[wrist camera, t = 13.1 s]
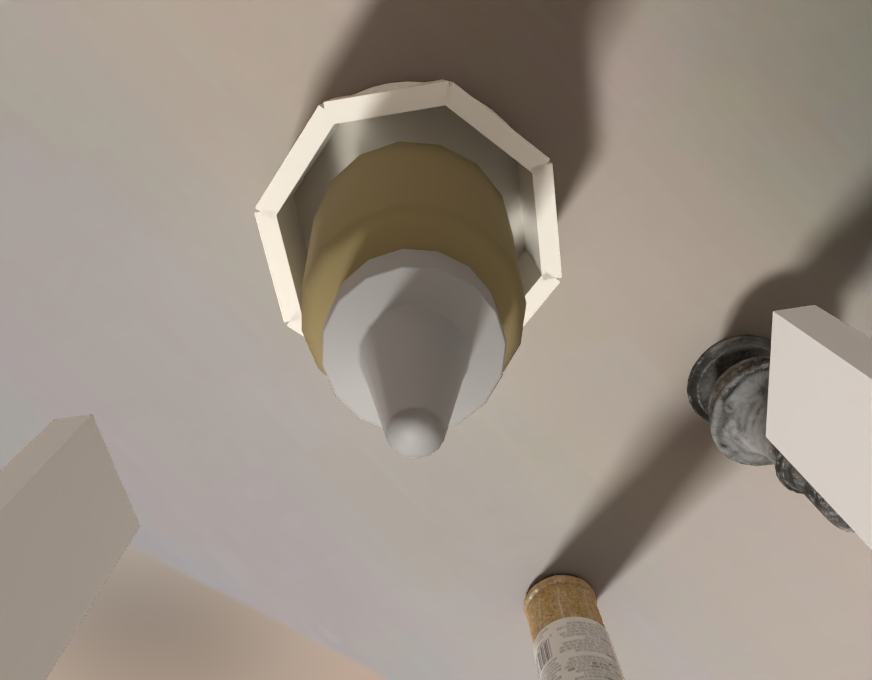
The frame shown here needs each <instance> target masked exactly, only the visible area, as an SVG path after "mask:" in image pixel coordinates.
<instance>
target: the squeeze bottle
mask: <svg viewBox="0 0 872 680" xmlns="http://www.w3.org/2000/svg"><path fill="white" fill-rule="evenodd" d="M525 310H526V299H525V294H524V289H523V284H522V279H521V274H520V269H519V264H518V259H517V254H516V249H515V243H514V238H513V233H512V230H511V226H510V222H509V219H508V215H507V212H506V208H505V204H504V201H503V197H502V195H501V194H500V192H499V191H498V190H497V189H496V187H495V186H494V185H493V184H492V182H491V181H490V180H489V179H488V177H487V176H486V175H485V174H484V172H483V171H482V170H481V169H480V167H479V166H478V165H477V164H476V163H474V162H472V161H470V160H468V159H466V158H464V157H463V156H461V155H459V154H457V153H455V152H453V151H451V150H449V149H448V148H446V147H444V146H442V145H436V144H424V143H412V142H400V141H399V142H396V143H393V144H390V145H387V146H384V147H381V148H378V149H375V150H372V151H369V152H367V153H364V154H361V155H359V156H358V157H357V158H356V159H355V160H354V161H353V162H351V163H350V164H349V165H348V166H347V167H346V168H345V169H344V170H343V171H342V172H340V173H339V174H338V175H337V176H336V177H335V178H334V179H333V180H332V181H331V182H330V183H329V185H328V188H327V190H326V192H325V194H324V197H323V199H322V201H321V203H320V206H319V208H318V210H317V212H316V215H315V217H314V220H313V226H312V232H311V237H310V243H309V249H308V255H307V260H306V266H305V272H304V277H303V283H302V333H303V335H304V337H305V339H306V342H307V344H308V346H309V349H310V351H311V353H312V355H313V358H314V360H315V362H316V364H317V367H318V368H319V369H320V370H321V371H322V372H323V373H324V374H325V375H326V376H327V378H328V380H329V382H330V385H331V387H332V389H333V392H334V394H335V396H336V397H337V398H338V399H340V400H341V401H342V402H343V403H344V404H345V405H346V406H347V407H348V408H349V409H350V410H351V411H352V412H353V413H354V414H355V415H356V416H357V417H358V418H360V419H362V420H364V421H367V422H369V423H371V424H374V425H376V426H379V427H381V428H383V430H384V433H385V436H386V439H387V441H388V444H389V446H390V447H391V448H392V449H393V450H394V451H395V452H396V453H397V454H400V455H402V456H405V457H407V458H422V457H425V456H428V455H431V454H432V453H433V452H435V451H436V450H437V449H439V447H440V446H441V444H442V442H443V441H444V438H445V435H446V432H447V429H448V427H449V426H452V425H456V424H459V423H460V422H461V421H463V420H464V419H465V418H467V417H468V416H469V415H471V414H472V413H473V412H475V411H476V410H477V409H479V408H480V407H481V406H483V405H484V404H485V403H486V402H487V400H488V398H489V397H490V395H491V393H492V392H493V390H494V388H495V387H496V385H497V384H498V382H499V380H500V379H501V377H502V375H503V372H504V370H505V369H506V367H507V365H508V364H509V362H510V360H511V359H512V357H513V355H514V354H515V352H516V351H517V349H518V347H519V346H520V344H521V337H522V330H523V323H524V317H525Z"/></svg>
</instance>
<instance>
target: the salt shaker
mask: <svg viewBox="0 0 872 680" xmlns="http://www.w3.org/2000/svg"><path fill="white" fill-rule="evenodd" d="M770 354H771V342H770V341H768V340H766V339H764V338H762V337H756V336H750V335H746V336H735V337H732V338H729V339H726V340H723V341H721V342H719V343H718V344H716V345H714V346H712V347H711V348H709V349H708V350H707V351H706V352H705V353H704V354H703V355H702V356H701V357H700V358H699V359H698V361H697V362H696V364H695V365H694V367H693V368H692V371H691V373H690V376H689V379H688V386H687V393H688V398H689V402H690V404H691V405H692V407H693V409H694V410H695V412H696V413H697V414H699V415H700V416H701V417H702V418H703V419H705V420H707V421H709V422H710V430H711V435H712V439H713V440H714V442H715V444H716V445H717V447H718V449H719V450H720V451H721V452H722V453H723V454H725V455H726V456H727V457H728V458H729V459H732V460H734V461H736V462H739V463H741V464H746V465H753V466H761V465H772V464H774V465H775V469H776V475H777V477H778V479H779V480H780V482H781V483H782V484H783V485H784V486H785V487H786V488H787V489H789V490H791V491H794V492H796V493H801V494H804V495H805V496H806V497H807V498H808V499H809V500H810V501H811V502H812V503H813V504H814V505H815V506H816V508H817V509H818V510H819V511H820V512H821V513H822V514H823V515H824V516H825V517H826V518H827V519H828V520H829V521H830V522H831V523H832V524H833V525H835V526H836V527H838V528H839V529H842V530H844V531H846V532H854V533H855V531H854V530H853V529H852V528H851V527H850V526H849V525H848V524H847V523H846V522H845V521H844V520H843V519H842V518H841V517H840V515H839V514H838V513H837V512H836V511H835V510H834V509H833V508H832V507H831V506H830V505H829V504H828V503H827V502H826V500H825V499H824V498H823V497H822V496H821V495H820V494H819V493H818V492H817V491H816V490H815V489H814V488H813V487H812V486H811V484H810V483H809V482H808V481H807V480H806V479H805V478H804V477H803V476H802V475H801V474H800V473H799V472H798V471H797V469H796V468H795V467H794V466H793V465H792V464H791V463H790V462H789V461H788V460H787V459H786V458H785V457H784V456H783V455H782V453H781V452H780V451H779V450H778V449H777V448H776V447H775V446H774V445H773V444H772V443H771V442H770V441H769V440H768V439H767V437H766V421H767V404H768V387H769V371H770Z"/></svg>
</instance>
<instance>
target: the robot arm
mask: <svg viewBox="0 0 872 680" xmlns="http://www.w3.org/2000/svg"><path fill="white" fill-rule="evenodd" d="M766 437H767V439H768V440H769V441H770V442H771V443H772V444H773V445H774V446H775V447H776V448H777V449H778V450H779V451H780V452H781V453H782V455H783V456H784V457H785V458H786V459H787V460H788V461H789V462H790V463H791V464H792V465H793V466H794V467H795V468H796V469H797V471H798V472H799V473H800V474H801V475H802V476H803V477H804V478H805V479H806V480H807V481H808V482H809V483H810V484H811V486H812V487H813V488H814V489H815V490H816V491H817V492H818V493H819V494H820V495H821V496H822V497H823V498H824V499H825V500H826V502H827V503H828V504H829V505H830V506H831V507H832V508H833V509H834V510H835V511H836V512H837V513H838V514H839V515H840V517H841V518H842V519H843V520H844V521H845V522H846V523H847V524H848V525H849V526H850V527H851V528H852V529H853V530H854V531H855V533H856V534H857V535H858V536H859V537H860V538H861V539H862V540H863V541H864V542H865V543H866V544H867V545H868V546H869V547H870V549H871V550H872V339H871V338H869V337H867V336H866V335H864V334H862V333H861V332H859V331H857V330H856V329H854V328H852V327H851V326H849V325H847V324H846V323H844V322H842V321H841V320H839V319H837V318H836V317H834V316H832V315H831V314H829V313H827V312H826V311H824V310H822V309H821V308H819V307H817V306H816V305H810V306H803V307H797V308H790V309H784V310H777V311H773V320H772V337H771V354H770V371H769V387H768V404H767V421H766ZM139 527H140V525H139V522H138V520H137V518H136V515H135V513H134V511H133V508H132V506H131V504H130V501H129V499H128V497H127V494H126V492H125V490H124V487H123V485H122V483H121V480H120V478H119V476H118V473H117V471H116V468H115V466H114V464H113V461H112V459H111V457H110V454H109V452H108V450H107V447H106V445H105V443H104V440H103V438H102V436H101V433H100V431H99V429H98V426H97V424H96V422H95V419H94V417H93V415H92V414H88V415H82V416H75V417H69V418H62V419H55V420H53V421H52V422H51V423H50V424H49V425H48V426H47V427H46V428H45V429H44V430H43V431H42V432H41V433H40V434H39V435H38V436H37V437H36V438H35V439H34V440H33V441H32V442H30V443H29V444H28V445H27V446H26V447H25V448H24V449H23V450H22V451H21V452H20V453H19V454H18V455H17V456H16V457H15V458H14V459H13V460H12V461H11V462H10V463H9V464H8V465H7V466H5V467H4V468H3V469H2V470H1V471H0V680H46V679H47V677H48V675H49V674H50V672H51V671H52V669H53V667H54V666H55V664H56V662H57V661H58V659H59V657H60V656H61V654H62V653H63V651H64V649H65V648H66V646H67V644H68V643H69V641H70V640H71V638H72V636H73V635H74V633H75V631H76V630H77V628H78V626H79V625H80V623H81V622H82V620H83V618H84V617H85V615H86V613H87V612H88V610H89V609H90V607H91V605H92V604H93V602H94V600H95V599H96V597H97V595H98V594H99V592H100V591H101V589H102V587H103V586H104V584H105V582H106V581H107V579H108V578H109V576H110V574H111V573H112V571H113V569H114V568H115V566H116V564H117V563H118V561H119V560H120V558H121V556H122V555H123V553H124V551H125V550H126V548H127V547H128V545H129V543H130V542H131V540H132V538H133V537H134V535H135V533H136V532H137V530H138V529H139Z"/></svg>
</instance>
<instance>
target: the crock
mask: <svg viewBox="0 0 872 680" xmlns="http://www.w3.org/2000/svg"><path fill="white" fill-rule="evenodd" d="M399 141H400V142H412V143H424V144H436V145H442V146H444V147H446V148H448V149H449V150H451V151H453V152H455V153H457V154H459V155H461V156H463V157H464V158H466V159H468V160H470V161H472V162H474V163H476V164H477V165H478V166H479V167H480V169H481V170H482V171H483V172H484V174H485V175H486V176H487V177H488V179H489V180H490V181H491V182H492V184H493V185H494V186H495V187H496V189H497V190H498V191H499V192H500V194H501V195H502V197H503V201H504V204H505V208H506V212H507V215H508V219H509V222H510V226H511V230H512V233H513V238H514V243H515V249H516V254H517V259H518V264H519V269H520V274H521V279H522V284H523V289H524V294H525V299H526V310H525V317H524V323H523V326H524V325H525V324H526V323H527V321H528V320H529V319H530V318H531V317H532V315H533V314H534V313H535V312H536V311H537V309H538V308H539V307H540V306H541V304H542V303H543V302H544V301H545V300H546V298H547V297H548V296H549V295H550V294H551V292H552V291H553V290H554V289H555V288H556V286H557V285H558V284H559V283H560V281H559V279H558V278H562V275H561V263H560V250H559V238H558V226H557V213H556V201H555V189H554V176H553V164H552V163H551V162H549V160H550V159H549V158H548V157H547V156H546V155H544V154H543V153H542V152H541V151H539V150H538V149H537V148H536V147H534V146H533V145H532V144H531V143H529V142H528V141H527V140H526V139H524V138H523V137H522V136H520V135H519V134H518V133H517V132H515V131H514V130H513V129H512V128H510V126H509V125H508V124H507V123H506V122H505V121H504V120H503V119H502V118H501V117H500V116H498V115H497V114H496V113H495V112H494V111H493V110H491V109H490V108H489V107H487V106H486V105H484V104H483V103H481V102H480V101H478V100H477V99H475V98H473V97H471V96H470V95H469V94H468V93H466V92H465V91H464V90H463V89H461V88H460V87H459V86H458V85H456V84H455V83H454V82H451V81H447V80H437V81H431V82H409V81H406V82H396V83H387V84H383V85H379V86H375V87H371V88H368V89H366V90H363V91H361V92H358V93H356V94H353V95H348V96H342V97H337V98H333V99H330V100H328V101H325V102H323V104H320V105H319V106H318V107H317V109H316V110H315V112H314V114H313V115H312V117H311V119H310V120H309V122H308V123H307V125H306V127H305V128H304V130H303V131H302V133H301V135H300V136H299V138H298V139H297V141H296V143H295V144H294V146H293V148H292V149H291V151H290V152H289V154H288V156H287V157H286V159H285V160H284V162H283V164H282V165H281V167H280V169H279V170H278V172H277V173H276V175H275V177H274V178H273V180H272V181H271V183H270V185H269V186H268V188H267V190H266V191H265V193H264V194H263V196H262V198H261V199H260V201H259V202H258V204H257V206H256V207H255V208H256V209H257V211H256V212H255V217H256V221H257V224H258V228H259V232H260V235H261V239H262V243H263V247H264V250H265V254H266V258H267V261H268V265H269V269H270V272H271V276H272V280H273V283H274V287H275V291H276V295H277V298H278V302H279V306H280V309H281V313H282V317H283V320H284V322H288V324H287V326H288V327H289V328H291V329H293V330H294V331H296V332H298V333H299V334H301V335H302V336H304V335H303V333H302V283H303V277H304V272H305V266H306V260H307V255H308V249H309V243H310V237H311V232H312V226H313V220H314V217H315V215H316V212H317V210H318V208H319V206H320V203H321V201H322V199H323V197H324V194H325V192H326V190H327V188H328V185H329V183H330V182H331V181H332V180H333V179H334V178H335V177H336V176H337V175H338V174H339V173H340V172H342V171H343V170H344V169H345V168H346V167H347V166H348V165H349V164H350V163H351V162H353V161H354V160H355V159H356V158H357V157H358V156H359V155H361V154H364V153H367V152H369V151H372V150H375V149H378V148H381V147H384V146H387V145H390V144H393V143H396V142H399Z"/></svg>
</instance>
